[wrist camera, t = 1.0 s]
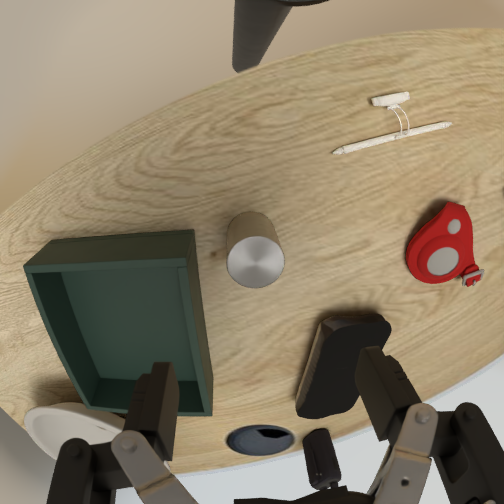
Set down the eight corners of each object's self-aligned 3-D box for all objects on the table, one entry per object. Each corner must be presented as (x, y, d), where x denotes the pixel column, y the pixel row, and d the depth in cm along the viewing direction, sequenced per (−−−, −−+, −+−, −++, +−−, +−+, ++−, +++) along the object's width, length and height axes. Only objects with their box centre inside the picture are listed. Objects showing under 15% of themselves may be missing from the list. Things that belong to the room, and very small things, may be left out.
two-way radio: (312, 444, 46) (329, 518, 32) (291, 441, 44) (305, 519, 31) (333, 428, 44) (355, 505, 30) (312, 424, 43) (331, 506, 29)
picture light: (332, 156, 27) (340, 159, 25) (318, 110, 25) (326, 110, 23) (450, 126, 26) (462, 128, 24) (441, 86, 24) (453, 85, 22)
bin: (51, 239, 28) (22, 265, 22) (193, 229, 29) (185, 257, 23) (99, 376, 36) (87, 409, 31) (213, 379, 37) (212, 416, 31)
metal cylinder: (225, 212, 28) (224, 237, 23) (274, 210, 28) (285, 234, 23) (228, 257, 30) (228, 290, 25) (274, 254, 30) (284, 286, 25)
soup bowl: (17, 361, 35) (-1, 391, 29) (164, 387, 37) (157, 427, 31) (65, 444, 45) (57, 470, 39) (180, 465, 47) (178, 494, 41)
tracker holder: (397, 288, 32) (429, 209, 25) (391, 263, 35) (417, 188, 29) (480, 299, 30) (517, 232, 24) (470, 275, 34) (501, 211, 28)
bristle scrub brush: (319, 304, 33) (328, 325, 30) (386, 307, 34) (399, 325, 31) (289, 400, 40) (293, 421, 36) (345, 398, 41) (352, 417, 37)
